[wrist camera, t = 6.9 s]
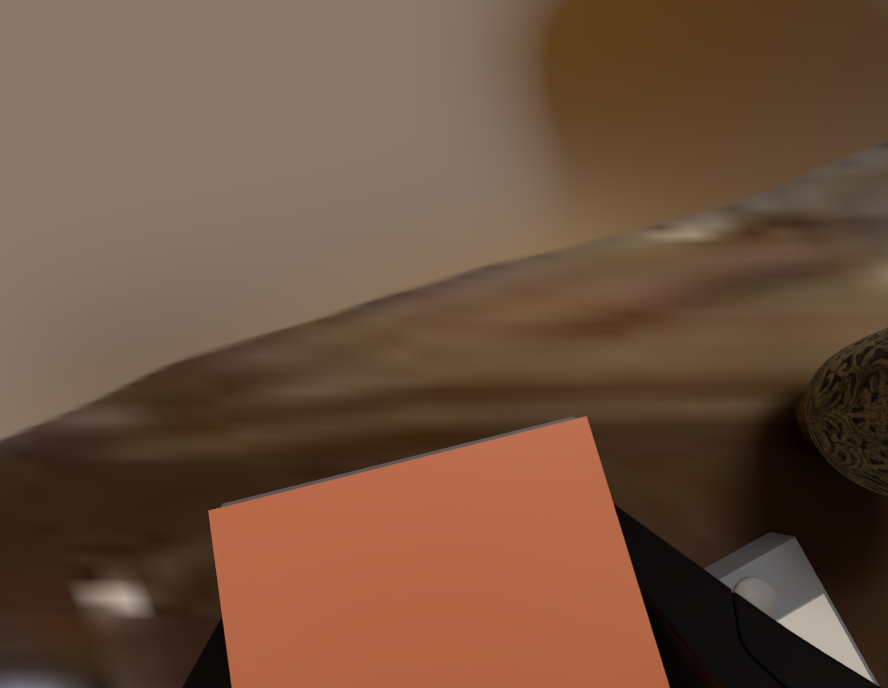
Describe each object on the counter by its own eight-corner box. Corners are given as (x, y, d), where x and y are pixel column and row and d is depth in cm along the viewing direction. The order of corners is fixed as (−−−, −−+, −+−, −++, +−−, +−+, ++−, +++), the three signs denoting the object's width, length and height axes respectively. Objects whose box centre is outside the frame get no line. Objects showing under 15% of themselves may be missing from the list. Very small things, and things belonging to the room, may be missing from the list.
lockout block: (361, 655, 15) (270, 1021, 5) (329, 482, 16) (203, 507, 6) (525, 607, 15) (724, 849, 6) (483, 443, 16) (588, 411, 7)
